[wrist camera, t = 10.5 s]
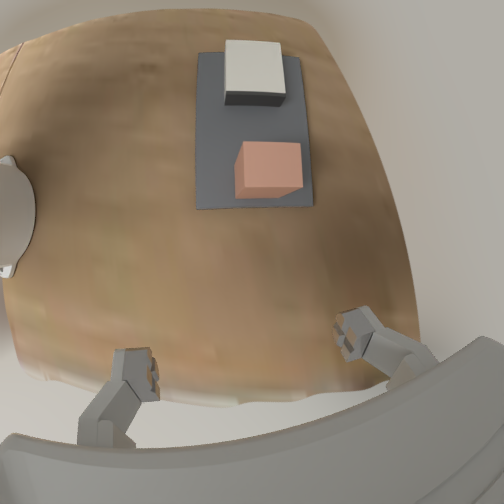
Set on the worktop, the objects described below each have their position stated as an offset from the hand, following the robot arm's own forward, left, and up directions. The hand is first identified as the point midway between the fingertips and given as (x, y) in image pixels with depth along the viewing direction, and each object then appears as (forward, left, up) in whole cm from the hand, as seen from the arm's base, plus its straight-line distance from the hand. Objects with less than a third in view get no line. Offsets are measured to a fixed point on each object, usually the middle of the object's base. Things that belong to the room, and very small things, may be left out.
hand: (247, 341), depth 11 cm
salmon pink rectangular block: (+4, +10, -21) cm, 23 cm away
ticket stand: (+4, +18, -23) cm, 29 cm away
